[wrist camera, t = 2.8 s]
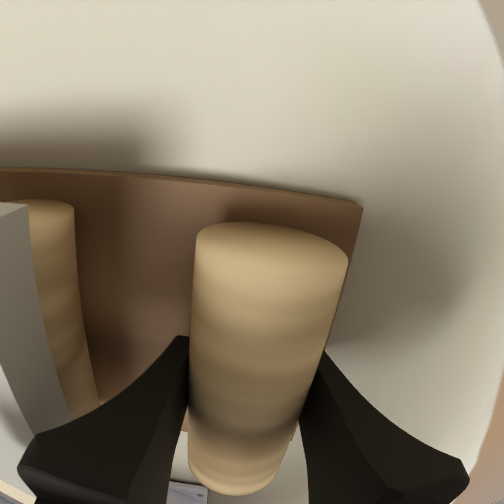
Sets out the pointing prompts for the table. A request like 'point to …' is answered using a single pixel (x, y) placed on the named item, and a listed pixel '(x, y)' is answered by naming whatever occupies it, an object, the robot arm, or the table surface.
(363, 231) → the table surface
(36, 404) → the slab
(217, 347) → the roller
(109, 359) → the roller board
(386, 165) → the table surface
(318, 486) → the robot arm
